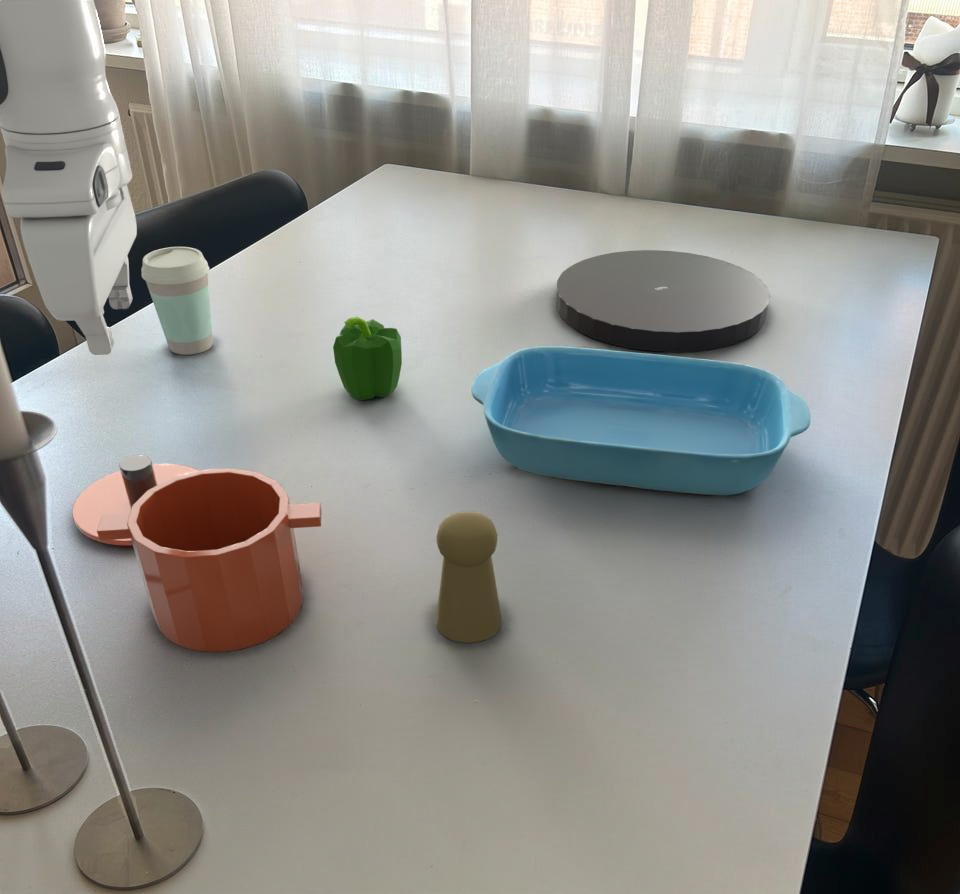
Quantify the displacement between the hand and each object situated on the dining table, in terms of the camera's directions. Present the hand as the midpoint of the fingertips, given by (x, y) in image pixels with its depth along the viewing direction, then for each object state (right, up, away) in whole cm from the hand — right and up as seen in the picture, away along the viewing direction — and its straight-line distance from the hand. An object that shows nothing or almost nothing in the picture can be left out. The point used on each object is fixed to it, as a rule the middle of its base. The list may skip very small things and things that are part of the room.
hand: (113, 327), depth 88 cm
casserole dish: (+50, -6, +26) cm, 56 cm away
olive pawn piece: (+31, -26, +4) cm, 41 cm away
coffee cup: (-7, +12, +48) cm, 50 cm away
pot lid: (-3, -13, +17) cm, 22 cm away
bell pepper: (+19, +4, +38) cm, 42 cm away
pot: (+9, -24, +6) cm, 26 cm away
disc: (+58, +20, +56) cm, 84 cm away
